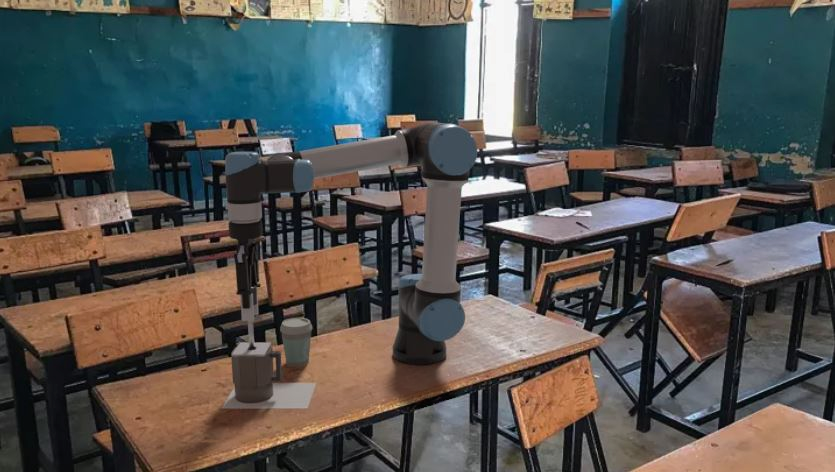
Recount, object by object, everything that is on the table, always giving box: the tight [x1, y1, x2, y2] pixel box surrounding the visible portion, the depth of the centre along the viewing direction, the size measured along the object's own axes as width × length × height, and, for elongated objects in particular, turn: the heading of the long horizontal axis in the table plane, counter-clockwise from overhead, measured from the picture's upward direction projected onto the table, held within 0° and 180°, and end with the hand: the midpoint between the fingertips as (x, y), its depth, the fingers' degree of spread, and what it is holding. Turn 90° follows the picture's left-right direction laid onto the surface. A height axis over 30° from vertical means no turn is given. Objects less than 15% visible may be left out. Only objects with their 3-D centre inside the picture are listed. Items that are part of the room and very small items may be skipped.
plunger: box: [247, 285, 258, 350], centre depth 161 cm, size 4×4×16 cm
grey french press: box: [230, 341, 283, 403], centre depth 164 cm, size 11×9×12 cm
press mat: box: [221, 382, 317, 410], centre depth 165 cm, size 20×14×1 cm
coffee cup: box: [279, 317, 313, 368], centre depth 183 cm, size 8×8×12 cm
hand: (250, 317), depth 161 cm, fingers closed on plunger, 4 cm apart
